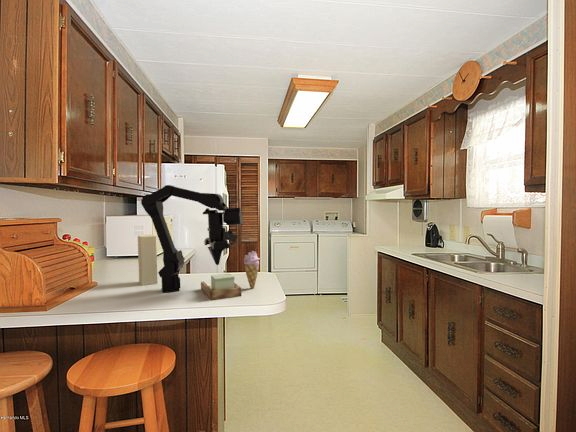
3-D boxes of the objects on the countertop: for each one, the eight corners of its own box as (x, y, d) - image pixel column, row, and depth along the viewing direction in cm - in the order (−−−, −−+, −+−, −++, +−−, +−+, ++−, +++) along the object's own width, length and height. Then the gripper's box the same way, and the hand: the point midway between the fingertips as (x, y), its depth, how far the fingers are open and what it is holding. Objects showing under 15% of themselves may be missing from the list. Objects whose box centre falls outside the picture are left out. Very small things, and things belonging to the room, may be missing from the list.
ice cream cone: (263, 287, 142) (262, 250, 141) (257, 290, 136) (256, 252, 135) (248, 286, 144) (247, 249, 143) (241, 289, 138) (240, 252, 137)
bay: (210, 300, 124) (210, 291, 124) (201, 289, 141) (200, 281, 141) (241, 295, 129) (241, 287, 129) (228, 285, 145) (228, 278, 145)
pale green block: (215, 295, 126) (214, 279, 126) (211, 291, 133) (210, 275, 133) (234, 292, 129) (234, 276, 129) (229, 288, 136) (229, 273, 136)
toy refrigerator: (159, 283, 153) (157, 235, 152) (141, 285, 149) (139, 236, 149) (156, 280, 160) (154, 234, 159) (139, 282, 156) (137, 235, 155)
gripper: (242, 225, 133) (243, 266, 134) (229, 223, 150) (231, 259, 151) (213, 227, 129) (214, 269, 129) (203, 224, 146) (204, 262, 146)
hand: (217, 264), depth 139 cm, fingers closed
